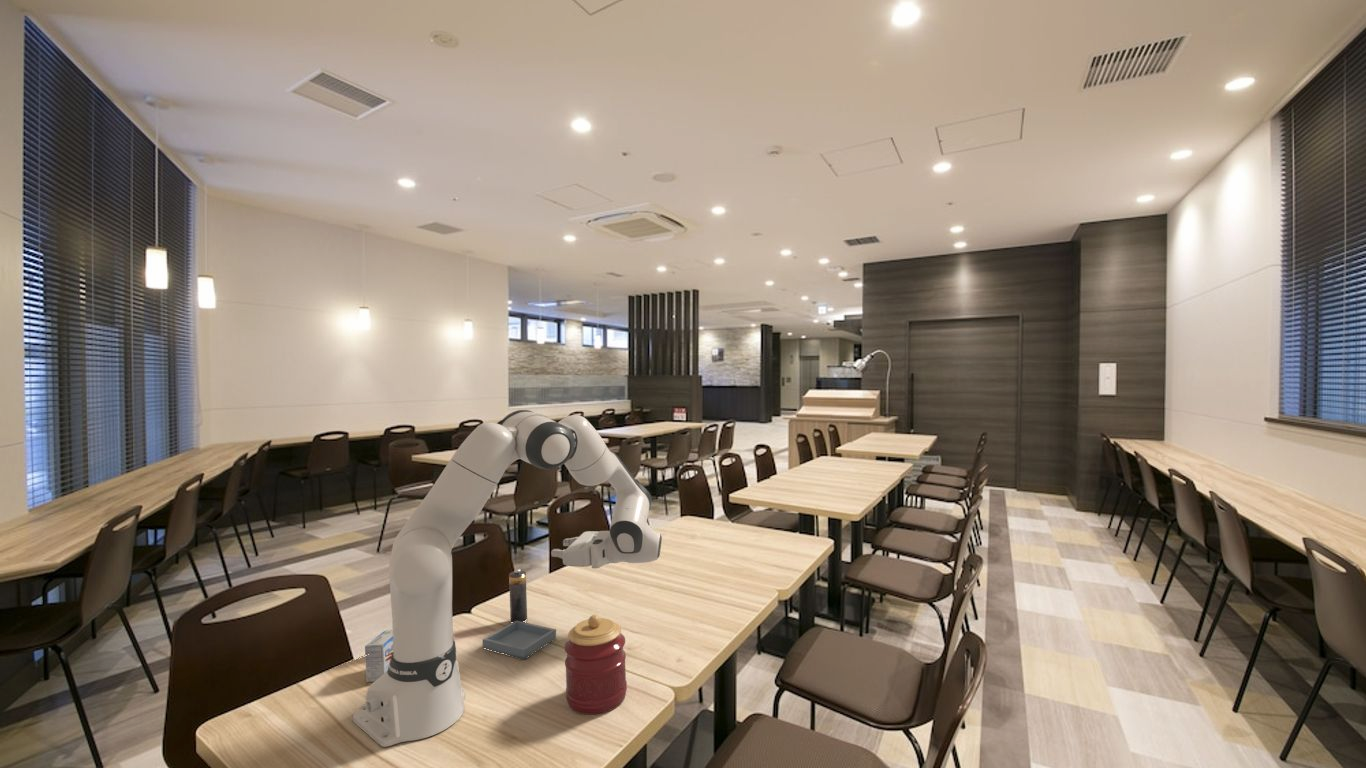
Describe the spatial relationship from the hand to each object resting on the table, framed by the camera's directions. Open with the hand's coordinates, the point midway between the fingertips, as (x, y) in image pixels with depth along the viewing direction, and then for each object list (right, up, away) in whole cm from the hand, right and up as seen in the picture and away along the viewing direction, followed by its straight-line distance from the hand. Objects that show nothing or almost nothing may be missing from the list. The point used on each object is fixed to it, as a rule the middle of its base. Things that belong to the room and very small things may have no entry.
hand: (558, 547), depth 152 cm
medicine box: (-36, -23, -25) cm, 49 cm away
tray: (-7, -22, -12) cm, 26 cm away
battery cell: (-12, -22, +1) cm, 25 cm away
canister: (+17, -21, -38) cm, 46 cm away
